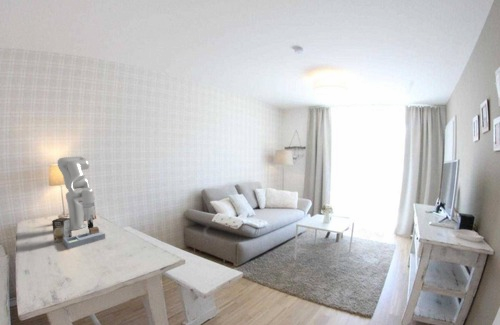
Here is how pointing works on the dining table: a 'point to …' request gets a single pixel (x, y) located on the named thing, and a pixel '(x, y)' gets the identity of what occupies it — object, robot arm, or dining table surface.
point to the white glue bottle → (93, 208)
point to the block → (93, 230)
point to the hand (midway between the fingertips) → (90, 228)
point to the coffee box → (61, 229)
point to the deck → (82, 239)
